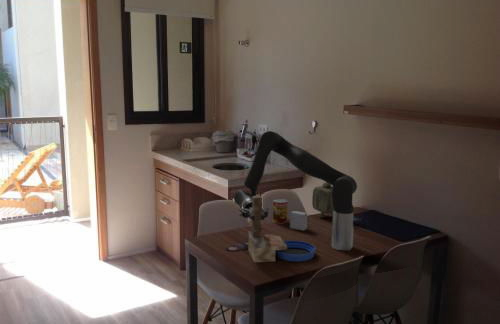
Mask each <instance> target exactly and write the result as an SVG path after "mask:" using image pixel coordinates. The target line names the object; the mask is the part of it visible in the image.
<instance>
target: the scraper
mask: <svg viewBox="0 0 500 324" xmlns="http://www.w3.org/2000/svg"><path fill="white" fill-rule="evenodd" d="M262 209H263V197H262V195H256V196H252V213H253V215H254V220H252V219H251V230H248V239H249V238H250V240H251V241H252V243H253V245H254V247H255V248H265V242H264V240H263V238H262V237H261V236H262V228H263V227H262V221H263V220H262Z"/></svg>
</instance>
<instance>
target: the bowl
mask: <svg viewBox="0 0 500 324" xmlns="http://www.w3.org/2000/svg"><path fill="white" fill-rule="evenodd" d="M283 241H284V243H285V244H286V245H287V249H286V250H276V253H275V257H277V258H279V259H281V260H284V261H288V262H304V261H309V260H311V259H313V258H314V256H315V253H316V247H315V246H314V245H313V244H312V243H309V242H306V241H302V240H283Z"/></svg>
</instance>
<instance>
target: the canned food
mask: <svg viewBox="0 0 500 324" xmlns="http://www.w3.org/2000/svg"><path fill="white" fill-rule="evenodd" d="M288 204H289V203H288V200H287V199H285V198H276V199H273V200H272V223H273V224H276V223H278V224H277V225H283V224H284V223H285V224H287V223H288Z"/></svg>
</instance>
